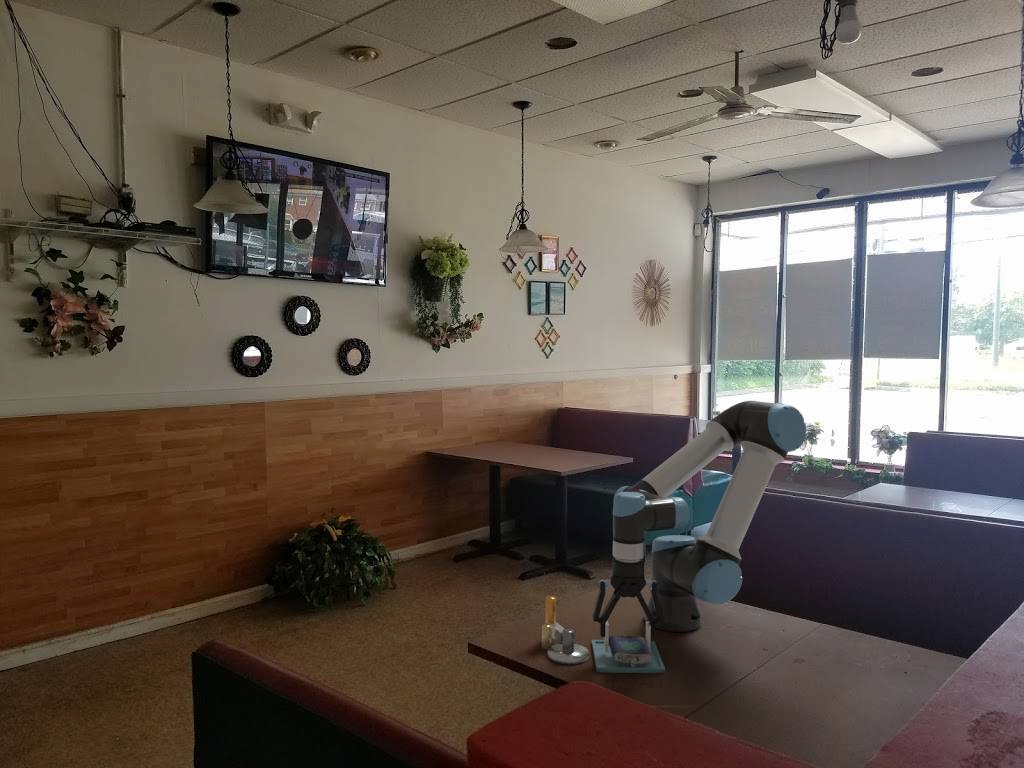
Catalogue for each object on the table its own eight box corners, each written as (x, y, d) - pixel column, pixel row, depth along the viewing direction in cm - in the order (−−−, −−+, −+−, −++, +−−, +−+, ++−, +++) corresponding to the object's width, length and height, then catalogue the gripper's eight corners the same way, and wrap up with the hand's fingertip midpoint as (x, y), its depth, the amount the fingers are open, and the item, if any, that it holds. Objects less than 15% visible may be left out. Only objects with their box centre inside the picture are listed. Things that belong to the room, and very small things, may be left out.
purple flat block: (646, 636, 178) (654, 657, 168) (645, 647, 179) (653, 669, 168) (607, 634, 178) (613, 655, 168) (607, 645, 179) (612, 667, 168)
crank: (569, 643, 182) (569, 607, 181) (559, 644, 181) (559, 608, 180) (552, 629, 190) (553, 595, 189) (543, 631, 189) (544, 596, 188)
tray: (654, 645, 185) (654, 641, 185) (665, 673, 170) (665, 668, 170) (591, 644, 186) (591, 639, 186) (596, 672, 170) (596, 667, 170)
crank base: (587, 646, 185) (587, 622, 184) (590, 664, 174) (590, 639, 174) (541, 645, 185) (541, 621, 185) (542, 663, 174) (542, 639, 174)
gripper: (671, 554, 180) (670, 644, 181) (581, 552, 180) (580, 642, 182) (677, 563, 172) (675, 657, 173) (583, 561, 173) (582, 655, 174)
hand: (627, 649), depth 178 cm, fingers closed on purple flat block, 9 cm apart
